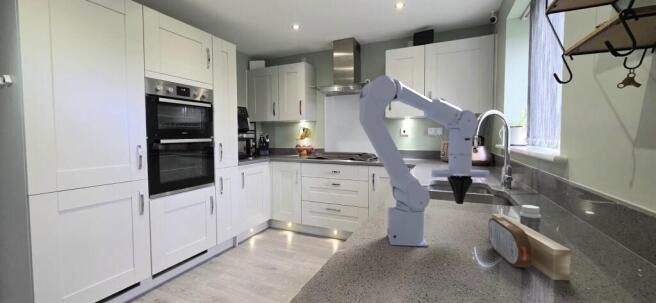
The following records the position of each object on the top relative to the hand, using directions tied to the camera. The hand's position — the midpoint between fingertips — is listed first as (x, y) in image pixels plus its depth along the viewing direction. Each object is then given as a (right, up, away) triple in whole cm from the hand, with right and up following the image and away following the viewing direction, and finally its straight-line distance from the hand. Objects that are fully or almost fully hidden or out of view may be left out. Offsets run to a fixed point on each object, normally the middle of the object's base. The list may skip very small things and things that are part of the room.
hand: (459, 203), depth 73 cm
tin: (+5, -10, -13) cm, 17 cm away
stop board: (+10, -10, -10) cm, 18 cm away
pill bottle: (+20, -10, +1) cm, 22 cm away
